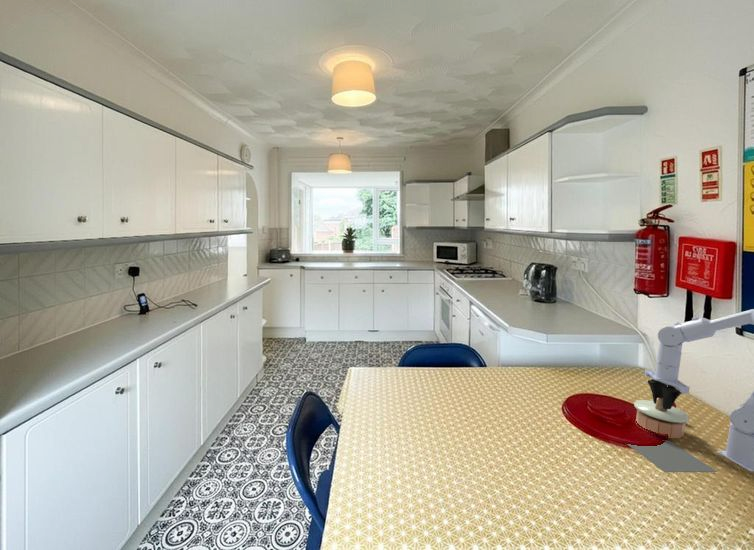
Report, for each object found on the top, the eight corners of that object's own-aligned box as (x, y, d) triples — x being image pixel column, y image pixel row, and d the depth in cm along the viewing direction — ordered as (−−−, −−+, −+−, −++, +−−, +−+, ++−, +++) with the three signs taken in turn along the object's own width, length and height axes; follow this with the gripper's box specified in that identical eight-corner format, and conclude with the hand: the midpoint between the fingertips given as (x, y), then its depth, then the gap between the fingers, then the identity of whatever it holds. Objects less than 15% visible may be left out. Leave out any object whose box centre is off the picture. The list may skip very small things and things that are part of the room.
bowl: (693, 439, 117) (695, 425, 117) (656, 439, 116) (658, 425, 115) (660, 420, 129) (662, 407, 128) (627, 420, 128) (628, 407, 127)
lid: (701, 422, 116) (703, 408, 116) (661, 422, 114) (663, 409, 113) (660, 402, 130) (661, 389, 129) (623, 402, 127) (625, 389, 127)
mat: (717, 473, 100) (717, 471, 100) (664, 473, 98) (664, 471, 98) (668, 442, 115) (668, 440, 114) (621, 441, 113) (621, 440, 113)
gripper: (638, 356, 127) (632, 396, 128) (676, 372, 113) (669, 416, 114) (658, 357, 128) (652, 396, 129) (698, 372, 113) (691, 417, 115)
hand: (662, 406), depth 122 cm, fingers closed on lid, 3 cm apart
